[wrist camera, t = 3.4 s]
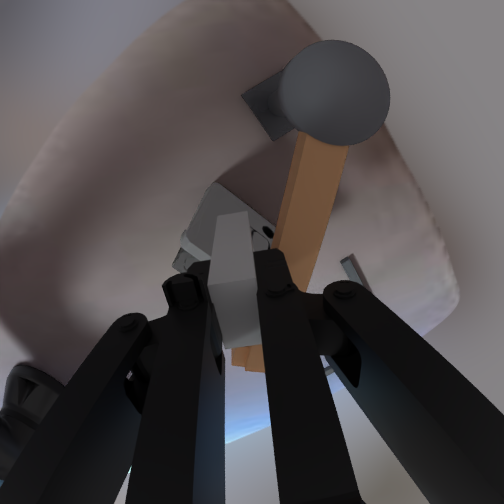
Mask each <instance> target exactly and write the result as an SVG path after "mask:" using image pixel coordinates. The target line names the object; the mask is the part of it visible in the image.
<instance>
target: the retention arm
mask: <svg viewBox="0 0 504 504" xmlns="http://www.w3.org/2000/svg"><path fill="white" fill-rule="evenodd" d="M278 97H279V102H280V106H281V108H282V111H283V113H284V115H285V116H286V118H287V119H288V121H289V122H290V123H291V124H292V125H293V127H294V128H296V129H297V130H298V131H299V133H298V137H297V141H296V146H295V150H294V154H293V158H292V163H291V167H290V171H289V175H288V179H287V184H286V188H285V192H284V196H283V200H282V204H281V208H280V212H279V217H278V221H277V225H276V229H275V233H274V237H273V241H272V245H271V249H273V248H277V249H279V250H280V251H282V252H283V253H284V256H285V259H286V262H287V265H288V268H289V271H290V274H291V277H292V280H293V283H295V284H296V286H297V287H298V289H299V290H300V291H302V292H306V290H307V287H308V284H309V281H310V278H311V275H312V272H313V269H314V266H315V263H316V260H317V257H318V253H319V250H320V247H321V244H322V241H323V237H324V234H325V231H326V228H327V224H328V221H329V217H330V214H331V211H332V207H333V204H334V200H335V197H336V193H337V190H338V186H339V182H340V179H341V175H342V171H343V168H344V164H345V160H346V156H347V152H348V148H349V145H354V144H357V143H360V142H363V141H365V140H367V139H368V138H370V137H371V136H373V135H374V134H375V133H376V132H377V131H378V130H379V128H380V127H381V126H382V124H383V123H384V121H385V119H386V117H387V114H388V110H389V106H390V89H389V85H388V82H387V78H386V76H385V74H384V72H383V70H382V68H381V67H380V65H379V64H378V63H377V61H376V60H375V59H374V58H373V57H372V56H371V55H370V54H369V53H368V52H366V51H365V50H363V49H362V48H360V47H358V46H356V45H354V44H352V43H348V42H344V41H339V40H325V41H320V42H316V43H314V44H312V45H310V46H308V47H306V48H304V49H303V50H302V51H301V52H300V53H298V54H297V55H296V56H295V57H294V58H293V59H292V60H291V61H290V62H289V63H288V64H287V65H286V67H285V68H284V70H283V72H282V74H281V77H280V80H279V85H278ZM232 366H241V367H245V371H252V372H263V373H265V367H264V358H263V349H262V344H259V345H252V346H245V347H238V348H232Z"/></svg>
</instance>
